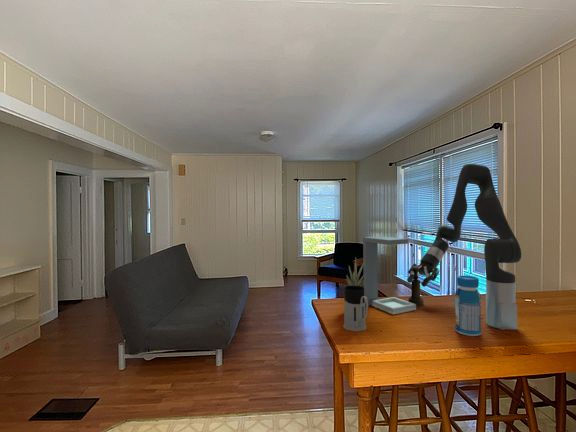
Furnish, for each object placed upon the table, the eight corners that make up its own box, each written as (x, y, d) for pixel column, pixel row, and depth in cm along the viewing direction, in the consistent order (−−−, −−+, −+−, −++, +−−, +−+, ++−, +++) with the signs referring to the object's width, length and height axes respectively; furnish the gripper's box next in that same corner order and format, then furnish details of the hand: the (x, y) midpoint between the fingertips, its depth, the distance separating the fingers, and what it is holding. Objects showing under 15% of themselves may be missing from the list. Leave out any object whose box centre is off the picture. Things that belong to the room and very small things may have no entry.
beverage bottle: (468, 338, 107) (468, 280, 107) (449, 329, 115) (449, 275, 115) (487, 335, 109) (487, 278, 109) (467, 326, 117) (467, 274, 117)
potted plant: (371, 315, 131) (371, 257, 131) (352, 318, 128) (352, 259, 127) (358, 308, 140) (357, 254, 140) (339, 311, 137) (339, 256, 137)
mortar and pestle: (419, 301, 150) (419, 264, 150) (426, 305, 144) (425, 267, 144) (406, 301, 150) (406, 265, 150) (412, 305, 144) (411, 267, 143)
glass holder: (359, 321, 124) (359, 284, 124) (378, 335, 110) (378, 293, 110) (339, 324, 122) (339, 286, 122) (356, 338, 108) (356, 295, 108)
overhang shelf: (389, 300, 153) (388, 235, 153) (416, 310, 138) (416, 238, 137) (363, 304, 146) (363, 237, 146) (389, 315, 131) (389, 240, 130)
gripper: (416, 251, 157) (399, 276, 152) (441, 254, 144) (423, 281, 139) (424, 260, 159) (408, 285, 154) (449, 265, 146) (432, 292, 141)
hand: (415, 283), depth 147 cm, fingers open, 8 cm apart
